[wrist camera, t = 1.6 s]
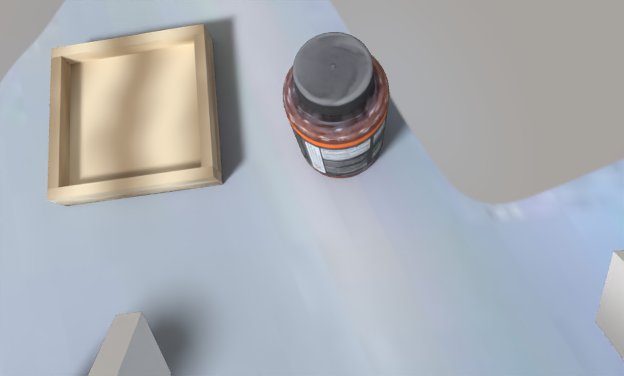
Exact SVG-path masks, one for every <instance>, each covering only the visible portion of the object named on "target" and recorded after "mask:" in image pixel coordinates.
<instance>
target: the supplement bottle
mask: <svg viewBox="0 0 624 376" xmlns="http://www.w3.org/2000/svg"><path fill="white" fill-rule="evenodd" d="M283 102H284V108H285V111H286V114H287V117H288V119H289V121H290V124H291V127H292V129H293V132H294V134H295V137H296V139H297V141H298V144H299V147H300V148H301V151H302V153H303V156H304V157H305V159H306V160H307V162H308V163H309V164H310V165H311V166H312V167H313V168H314V169H315V170H316V171H318V172H320V173H321V174H323V175H326V176H329V177H333V178H348V177H352V176H355V175H358V174H360V173H362V172H363V171H365V170H366V169H367V168H368V167H369V166H371V165H372V163H373V162H374V161H375V159H376V158H377V156H378V154H379V151H380V149H381V146H382V142H383V135H384V130H385V124H386V118H387V112H388V104H389V85H388V80H387V77H386V74H385V72H384V70H383V68H382V67H381V65H380V64H379V62H378V61H377V60H376V59H375V58H374V57H373V56H372V55H371V54H370V52H369V51H368V49H367V48H366V46H365V45H364V44H363V43H362V42H361V41H360V40H358V39H357V38H355V37H353V36H351V35H349V34H345V33H339V32H329V33H324V34H321V35H318V36H315V37H314V38H312V39H310V40H309V41H307V42H306V43H305V44H304V45H303V46H302V47H301V48H300V50H299V52H298V53H297V55H296V57H295V60H294V64H293V66H292V67H291V69H290V70H289V72H288V74H287V76H286V79H285V82H284V87H283Z"/></svg>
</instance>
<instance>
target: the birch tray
mask: <svg viewBox="0 0 624 376" xmlns="http://www.w3.org/2000/svg"><path fill="white" fill-rule="evenodd" d="M222 184H223V183H222V168H221V154H220V140H219V125H218V111H217V96H216V82H215V68H214V53H213V40H212V38H211V36H210V34H209V33H208V31H207V29H206V27H205V26H204V24H198V25H192V26H186V27H180V28H174V29H168V30H162V31H155V32H149V33H143V34H137V35H131V36H125V37H119V38H113V39H106V40H100V41H94V42H88V43H82V44H76V45H70V46H64V47H57V48H52V50H51V86H50V122H49V157H48V193H47V200H49V201H52V202H56V203H59V204H62V205H65V206H70V205H78V204H85V203H92V202H99V201H106V200H114V199H121V198H128V197H135V196H143V195H150V194H157V193H164V192H172V191H179V190H186V189H193V188H200V187H208V186H215V185H222Z"/></svg>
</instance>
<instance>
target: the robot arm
mask: <svg viewBox="0 0 624 376" xmlns="http://www.w3.org/2000/svg"><path fill="white" fill-rule="evenodd" d="M595 323H596V324H597V325H598V327H599V328H600V329H601V331H602V332H603V333H604V335H605V336H606V338H607V339H608V340H609V342H610V343H611V344H612V346H613V347H614V348H615V350H616V351H617V352H618V354H619V355H620V356H621V358H622V359H623V360H624V250H620V251H614V252H613V255H612V259H611V263H610V267H609V271H608V275H607V279H606V282H605V286H604V290H603V294H602V298H601V302H600V305H599V309H598V313H597V317H596V321H595ZM88 376H171V372H170V370H169V368H168V366H167V364H166V361H165V359H164V357H163V355H162V353H161V351H160V349H159V347H158V345H157V342H156V340H155V338H154V336H153V334H152V332H151V330H150V328H149V325H148V323H147V321H146V319H145V317H144V315H143V313H142V312H135V313H127V314H119V315H116V316H115V318H114V320H113V322H112V324H111V326H110V329H109V331H108V333H107V335H106V337H105V340H104V342H103V344H102V346H101V348H100V350H99V353H98V355H97V357H96V359H95V361H94V364H93V366H92V368H91V370H90V372H89V374H88Z"/></svg>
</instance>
